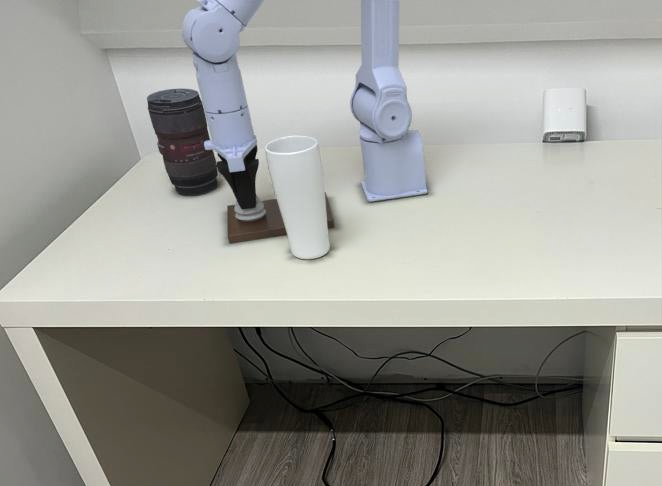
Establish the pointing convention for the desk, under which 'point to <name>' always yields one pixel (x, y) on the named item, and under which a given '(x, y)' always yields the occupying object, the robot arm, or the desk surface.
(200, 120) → the camera lens
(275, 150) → the drinking glass
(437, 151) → the desk surface
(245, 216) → the rook chess piece
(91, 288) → the desk surface
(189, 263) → the desk surface
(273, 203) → the walnut board
